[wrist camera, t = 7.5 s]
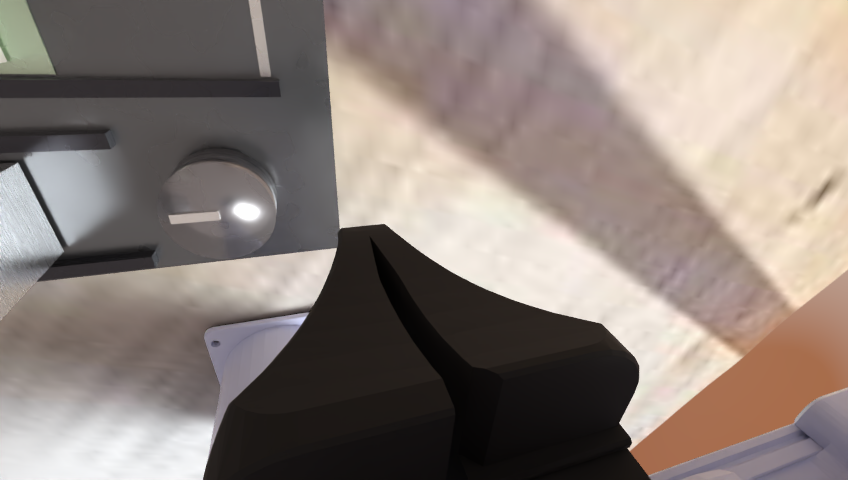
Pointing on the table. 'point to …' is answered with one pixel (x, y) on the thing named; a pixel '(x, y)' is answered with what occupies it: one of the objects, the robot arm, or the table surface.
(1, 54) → the fader
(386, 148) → the table surface
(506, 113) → the table surface
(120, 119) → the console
